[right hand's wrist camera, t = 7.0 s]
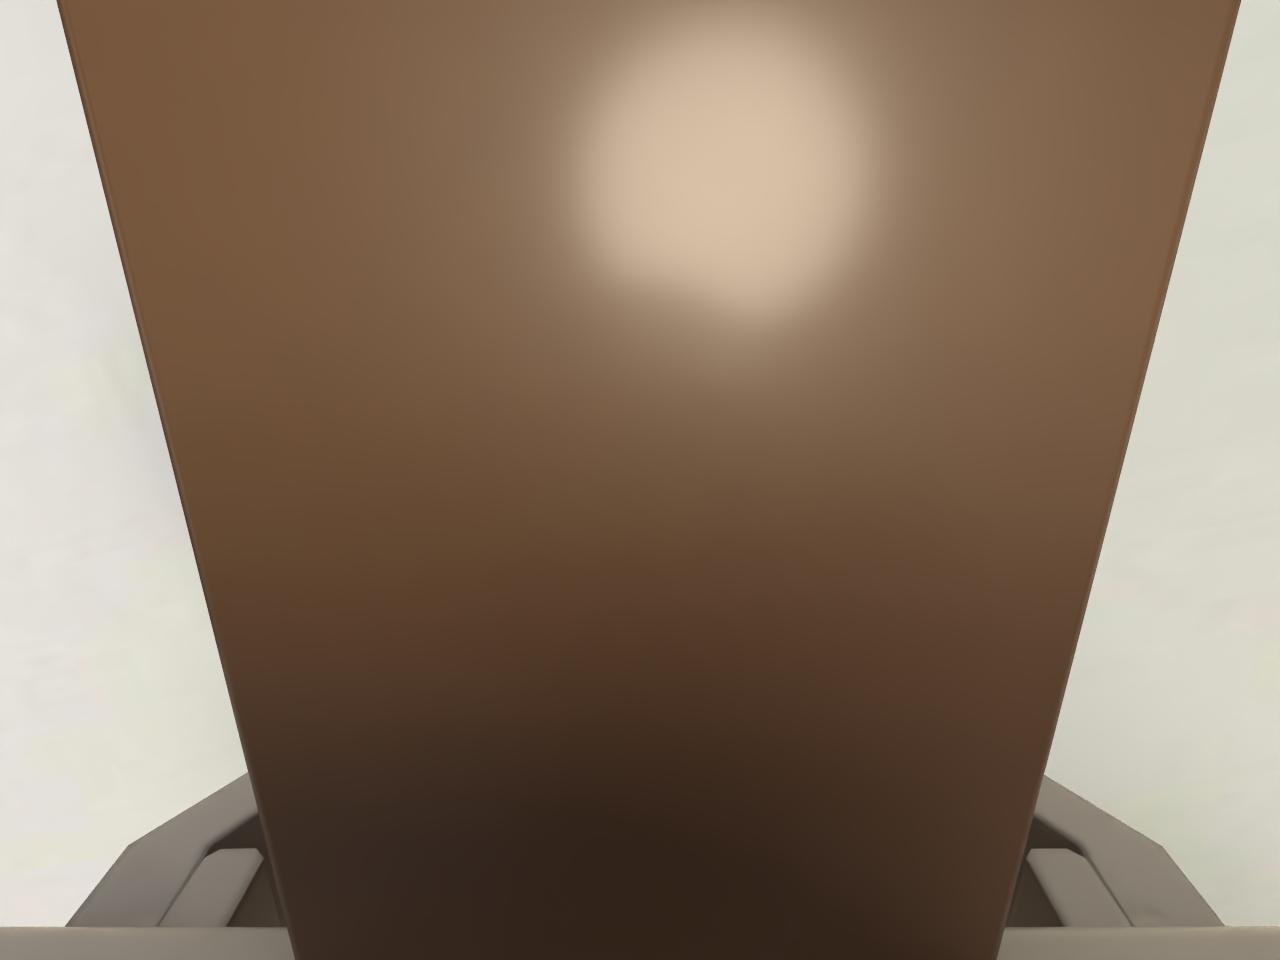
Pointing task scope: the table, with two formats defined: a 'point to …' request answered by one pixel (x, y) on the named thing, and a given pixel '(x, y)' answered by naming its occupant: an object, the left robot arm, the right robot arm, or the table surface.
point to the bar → (647, 439)
